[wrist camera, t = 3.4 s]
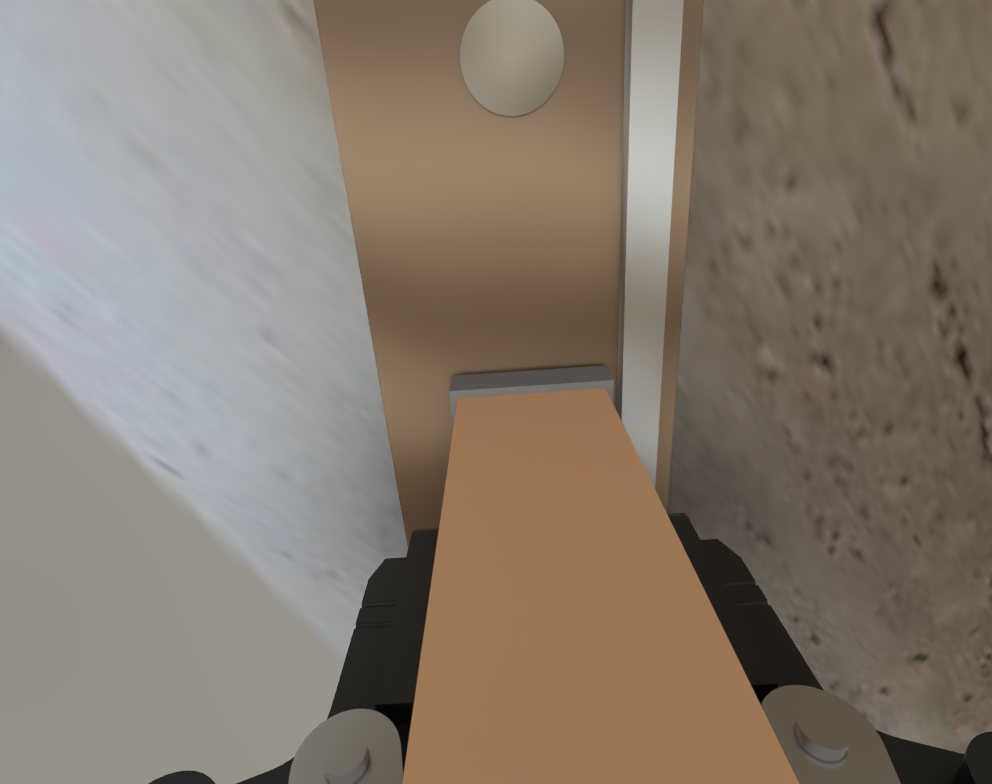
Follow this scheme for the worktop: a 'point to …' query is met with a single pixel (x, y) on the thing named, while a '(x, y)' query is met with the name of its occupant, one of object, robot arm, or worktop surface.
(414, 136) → the wooden slider board
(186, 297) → the worktop surface
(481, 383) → the block
